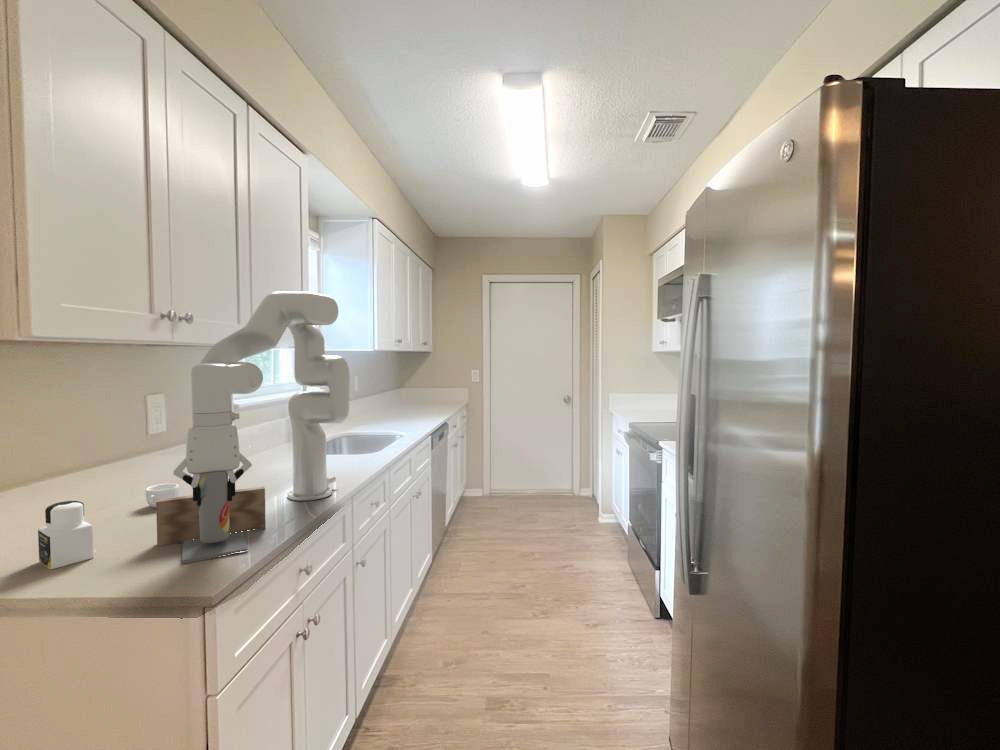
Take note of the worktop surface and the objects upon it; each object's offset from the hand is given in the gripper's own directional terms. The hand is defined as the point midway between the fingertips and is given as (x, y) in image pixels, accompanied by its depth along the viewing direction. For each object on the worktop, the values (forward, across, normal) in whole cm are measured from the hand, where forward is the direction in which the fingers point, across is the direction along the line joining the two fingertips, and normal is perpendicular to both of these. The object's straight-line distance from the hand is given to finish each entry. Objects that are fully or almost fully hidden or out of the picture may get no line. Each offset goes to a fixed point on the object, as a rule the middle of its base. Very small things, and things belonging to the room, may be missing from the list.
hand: (214, 500), depth 110 cm
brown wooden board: (+11, 0, -9) cm, 14 cm away
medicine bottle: (+11, +27, -8) cm, 30 cm away
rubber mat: (+11, 0, 0) cm, 11 cm away
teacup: (+11, +12, -42) cm, 45 cm away
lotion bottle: (+9, 0, 0) cm, 9 cm away
